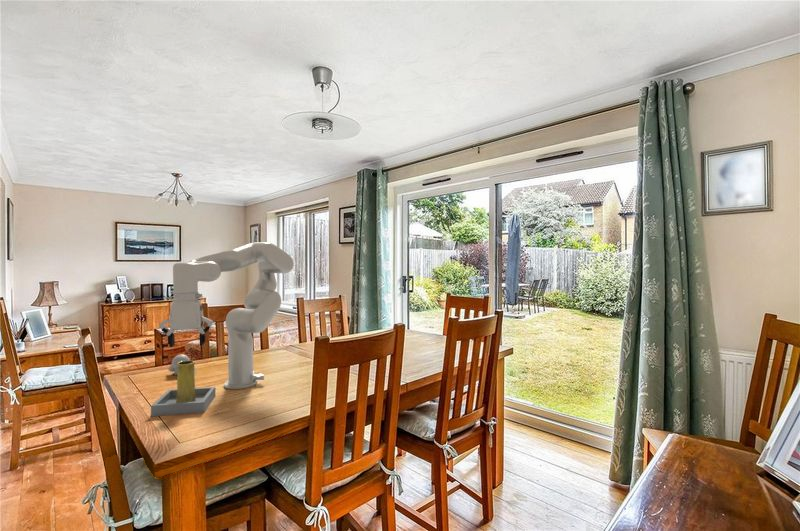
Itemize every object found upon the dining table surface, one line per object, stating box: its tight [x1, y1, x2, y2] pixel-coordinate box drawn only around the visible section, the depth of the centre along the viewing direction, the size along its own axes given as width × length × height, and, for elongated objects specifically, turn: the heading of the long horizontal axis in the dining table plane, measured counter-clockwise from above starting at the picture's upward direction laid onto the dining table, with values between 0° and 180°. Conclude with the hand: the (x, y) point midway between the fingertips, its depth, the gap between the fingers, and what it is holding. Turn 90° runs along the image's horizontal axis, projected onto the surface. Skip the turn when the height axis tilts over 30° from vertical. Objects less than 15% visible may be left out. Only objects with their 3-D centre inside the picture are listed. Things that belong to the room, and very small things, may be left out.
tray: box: [150, 386, 216, 417], centre depth 136 cm, size 16×16×4 cm
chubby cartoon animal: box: [168, 354, 197, 376], centre depth 172 cm, size 7×12×8 cm, turn 75°
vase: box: [176, 360, 196, 403], centre depth 136 cm, size 6×6×14 cm
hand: (187, 345), depth 136 cm, fingers open, 9 cm apart
